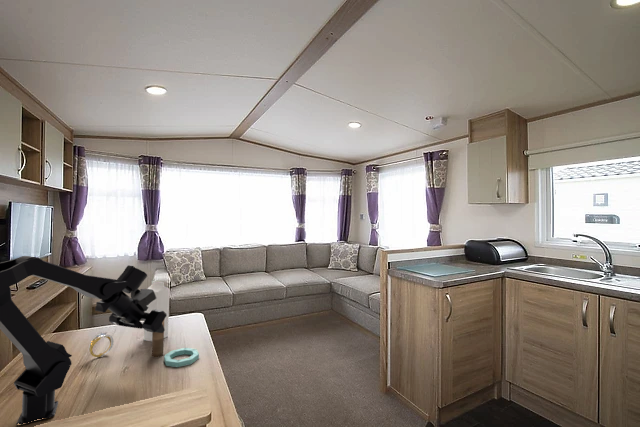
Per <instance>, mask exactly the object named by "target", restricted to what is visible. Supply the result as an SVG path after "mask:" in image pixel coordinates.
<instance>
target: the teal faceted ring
mask: <svg viewBox="0 0 640 427" xmlns="http://www.w3.org/2000/svg"><path fill="white" fill-rule="evenodd" d="M181 355H188V356H189V357H187V358H182V359H175V357H177V356H181ZM163 356H164V358H163V361H164V364H165V366H167V367H172V368H173V367H175V368H179V367H184V366H190V365H192V364H193V363H194V362H196V361H197V360H198V359H200V353H199V352H198V350H197V348H191V347H182V348H178V349H173V350H171V351H169V352H167V353H166V354H164V355H163ZM173 358H174V359H173Z"/></svg>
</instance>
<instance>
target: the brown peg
mask: <svg viewBox="0 0 640 427" xmlns="http://www.w3.org/2000/svg"><path fill="white" fill-rule="evenodd" d="M162 324H163V327H164V321H163V322H162ZM164 342H165V338H164V332H163V333H157V332H152V341H151V358H154V359H156V358H161V357H163V356H164V345H165V344H164Z"/></svg>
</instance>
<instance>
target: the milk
mask: <svg viewBox="0 0 640 427" xmlns="http://www.w3.org/2000/svg"><path fill="white" fill-rule="evenodd" d="M147 289H152V290H153V291H154V293H155V295H156V299H155V300H153V301H152V302H151V303H150V304H149V305H147V307H148V309H147V310H146V311H144V312H146V313H150V312H151V311H152V310H155V309H156V310H162V311H164V312H165V313H166V314H167V316H166V317H165V319H164V329H165V331H164V339H166V338H168V337H169V317H170V316H169V315H170V291H171V290H170V288H169V287H167V286H165V282H164V281H158V280H157V281H156V280H151V285H150V286H148V287H147ZM143 341H147V342H152V332H149V331H147V330H145V329H143Z"/></svg>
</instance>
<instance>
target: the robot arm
mask: <svg viewBox="0 0 640 427" xmlns="http://www.w3.org/2000/svg"><path fill="white" fill-rule="evenodd" d="M30 276H32V277H35V278H38V279H39V278H40V279H43V280H46V281H49V282H53V283H56V284H59V285H63V286H66V287H68V288H69V287H70V288H72V289H74V291H76V292H78V293H79V294H80V295H83V296H84V297H87V298H92V299H98V300H100V301H96V302H95V303H96V304H95V305H96V306H95V308H94V309H95V310H94V311H95V312H100V313H106V312H107V311H108V310H109V311H110V312H112V313H111V314H110V316H109V317H108V318H109V319H108V322H110V323H111V324H112V325H117V326H121V327H125V328H126V327H127V328H134V329H139V330H142V329H143V330H144V329H145V330H147V331H149V332H157V333H163V332H164V331H165V329H164V327H163V324H162V322H163V321H164V319H165V317H166V316H167V314H166V313H165V312H164V311H162V310H156V309H155V310H152V311H151V312H150V313H146V312H145V311H146V310H147V309H148V307H147V305H149V304H150V303H151V302H152V301H153V300H155V299H156V295H155V293H154V291H153V290H152V289H148V288H141V289H139V288H140V287H141V286H142V284H143V283H144V281H146V279H147V277H148V274H147V272H145V271H143V270H141V269H139V268H137V267H135V266H134V265H127V266H126V267H125V269H124V271H123V272H122V273H121V274H120V275H119V277H118V278H117V279H114V278H110V277H109V278H108V277H102V276H94V275H93V276H92V275H88V274H87V275H86V274H84V273H81V272H78V271H75V270H72V269H69V268H66V267H63V266H61V265H57V264H54V263H51V262H49V261H46V260H43V259H42V258H40V257H37V256H30V255H22V256H19V257H16V258H13V259H10V260H7V261H1V262H0V330H1V332H2V333H3V334H4V335H5V337H7V339H8V340H9V341H10V342H11V343H12V344H13V345H14V346H15V347H16V349H18V351H19V352H20V353H21V355H22V361H23V366H25V369H24V370H23V371H22V372H21V374H20V375H19V376H18V377H17V378H16V379H15V380H14V382H13V385H14V386H15V389H16V390H19V391H22V402H21V414H20V416H19V417H18V419H17V421H16V424H18V423H19V424H23V423H28V422H31V421H34V420H37V419H42V418H48V419H50V418H49V417H52V418H53V416H54V417H55V414H56V411H57V408H58V407H59V406H58V405H59V401H58V400H56V390H58V389H59V390H60V389H61V388H62V387H63V384H64V382H65V379H66V377H67V373H68V372H69V371H70V369H71V366H72V360H71V357H72V356H73V355H72V354H70V353H68V351H67V349H66V347H65V346H64V345H63V344H60V343H58V342H57V343H56V342H54V341H51V340H45V339H44V338H43V337H42V335H40V333H39V332H38V331H37V329H36V328H35V327H34V325H33V324H32V323H31V322H30V321H29V319H27V317H26V316H25V314H24V313H23V312H22V310H20V308H19V307H18V306H17V304H15V302H14V301H13V299H12V289H11V286H14V285H17V284H18V283H20V282H22V281H23V280H26V279H27V278H29V277H30ZM128 294H130V296H129V295H128ZM141 321H143V322H141ZM55 400H56V401H55ZM28 424H29V423H28Z"/></svg>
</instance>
